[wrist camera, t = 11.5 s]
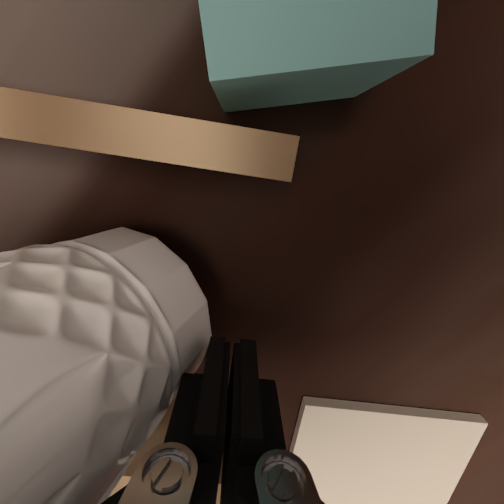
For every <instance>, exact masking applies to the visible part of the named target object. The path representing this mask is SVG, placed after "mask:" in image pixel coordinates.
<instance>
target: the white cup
mask: <svg viewBox="0 0 504 504" xmlns="http://www.w3.org/2000/svg"><path fill="white" fill-rule="evenodd" d="M210 336H212V333H211V325H210V318H209V310H208V303H207V299H206V297H205V296H204V294H203V292H202V290H201V288H200V287H199V285H198V283H197V281H196V279H195V278H194V276H193V274H192V272H191V270H190V269H189V267H188V265H187V264H186V263H185V262H184V261H183V260H182V259H181V258H179V257H178V256H177V255H176V254H175V253H174V252H173V251H171V250H170V249H169V248H168V247H167V246H166V245H164V244H163V243H162V242H161V241H160V240H159V239H158V238H156V237H154V236H150V235H147V234H144V233H141V232H138V231H135V230H132V229H128V228H125V227H119V228H115V229H111V230H107V231H104V232H100V233H96V234H92V235H89V236H85V237H81V238H77V239H74V240H68V241H61V242H57V243H53V244H33V245H30V246H26V247H23V248H19V249H16V250H11V251H5V252H0V504H101V503H102V502H103V501H105V500H106V499H107V498H108V497H109V495H110V494H111V492H112V491H113V490H114V488H115V487H116V485H117V484H118V482H119V481H120V479H121V478H122V476H123V475H124V473H125V472H126V470H127V468H128V467H129V465H130V464H131V462H132V460H133V459H134V458H135V456H136V454H137V453H138V452H139V451H140V450H141V449H142V448H143V447H144V445H145V444H146V443H147V441H148V440H149V438H150V437H151V435H152V434H153V432H154V431H155V429H156V428H157V426H158V425H159V423H160V422H161V420H162V419H163V417H164V415H165V414H166V412H167V410H168V408H169V405H170V404H171V403H172V402H173V400H174V399H175V398H176V395H177V392H178V388H179V385H180V381H181V377H182V374H183V373H195V371H196V370H197V369H198V367H199V366H200V365H201V363H202V360H203V358H204V355H205V353H206V350H207V348H208V345H209V341H210Z"/></svg>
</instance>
